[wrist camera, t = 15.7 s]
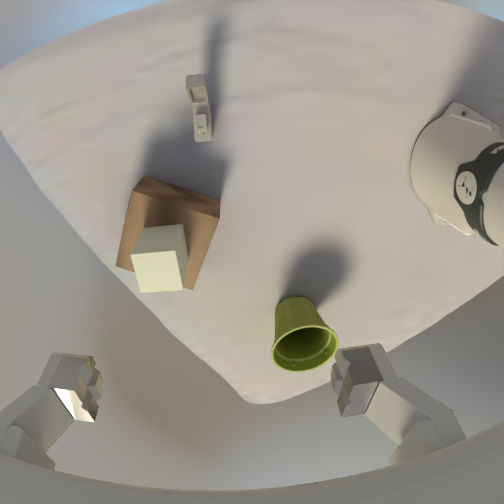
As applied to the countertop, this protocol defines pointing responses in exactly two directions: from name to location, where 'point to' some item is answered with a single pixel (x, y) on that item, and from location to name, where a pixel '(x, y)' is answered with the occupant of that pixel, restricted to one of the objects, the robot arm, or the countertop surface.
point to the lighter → (200, 107)
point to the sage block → (161, 258)
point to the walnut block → (170, 221)
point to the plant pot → (301, 337)
